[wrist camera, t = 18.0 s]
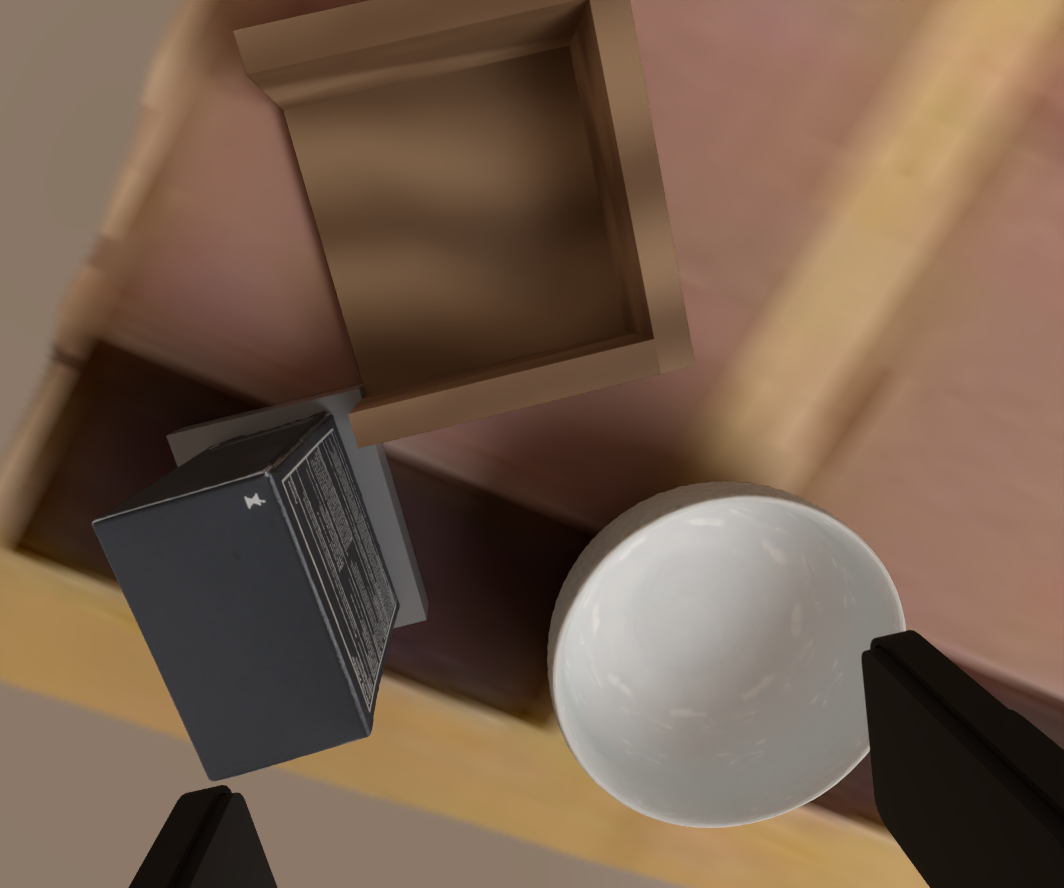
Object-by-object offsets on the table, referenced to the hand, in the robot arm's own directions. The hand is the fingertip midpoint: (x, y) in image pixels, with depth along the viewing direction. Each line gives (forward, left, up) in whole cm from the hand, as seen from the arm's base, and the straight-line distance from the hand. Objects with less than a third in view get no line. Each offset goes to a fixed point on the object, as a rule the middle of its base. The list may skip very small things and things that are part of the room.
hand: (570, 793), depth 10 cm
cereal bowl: (+12, +8, -26) cm, 30 cm away
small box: (+2, -10, -24) cm, 26 cm away
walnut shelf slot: (-10, +1, -26) cm, 28 cm away
